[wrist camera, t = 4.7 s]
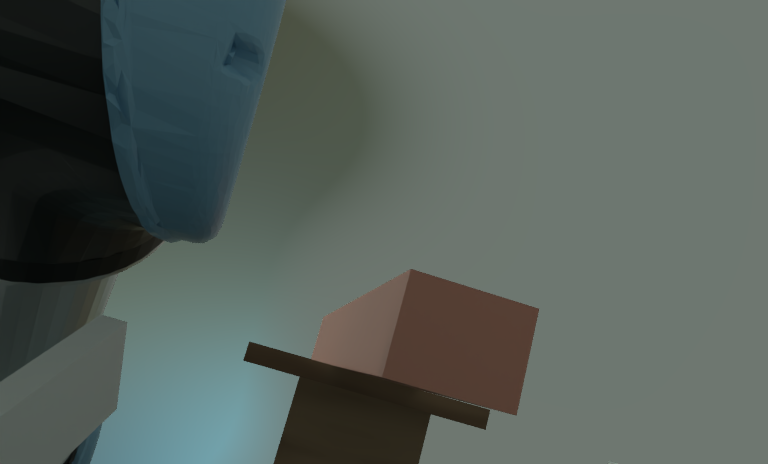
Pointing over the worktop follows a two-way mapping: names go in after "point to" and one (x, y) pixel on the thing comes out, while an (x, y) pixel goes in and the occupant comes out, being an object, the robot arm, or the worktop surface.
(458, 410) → the shelf stand
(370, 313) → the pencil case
